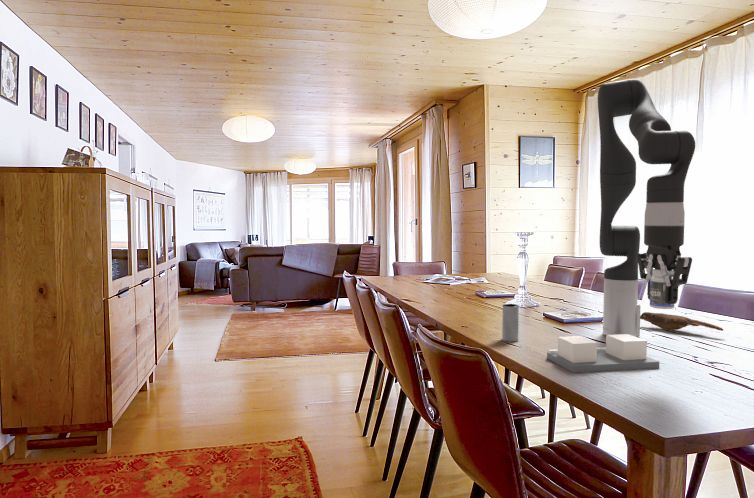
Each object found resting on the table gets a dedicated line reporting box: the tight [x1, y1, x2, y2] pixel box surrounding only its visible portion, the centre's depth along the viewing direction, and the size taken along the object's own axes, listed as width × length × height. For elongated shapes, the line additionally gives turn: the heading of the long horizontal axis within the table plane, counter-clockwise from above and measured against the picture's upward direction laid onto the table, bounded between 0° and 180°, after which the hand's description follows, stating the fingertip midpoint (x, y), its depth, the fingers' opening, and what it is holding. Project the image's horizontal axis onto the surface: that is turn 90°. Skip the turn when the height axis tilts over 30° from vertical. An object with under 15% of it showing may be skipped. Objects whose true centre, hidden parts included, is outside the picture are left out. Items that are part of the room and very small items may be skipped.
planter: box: [501, 303, 520, 343], centre depth 144 cm, size 4×4×10 cm
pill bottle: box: [649, 268, 675, 310], centre depth 108 cm, size 5×5×8 cm
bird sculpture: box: [640, 311, 724, 332], centre depth 155 cm, size 7×25×5 cm, turn 41°
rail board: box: [546, 334, 660, 373], centre depth 120 cm, size 22×12×6 cm, turn 99°
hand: (661, 301), depth 108 cm, fingers closed on pill bottle, 4 cm apart
